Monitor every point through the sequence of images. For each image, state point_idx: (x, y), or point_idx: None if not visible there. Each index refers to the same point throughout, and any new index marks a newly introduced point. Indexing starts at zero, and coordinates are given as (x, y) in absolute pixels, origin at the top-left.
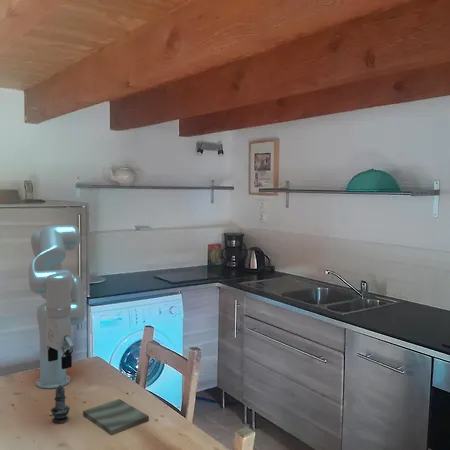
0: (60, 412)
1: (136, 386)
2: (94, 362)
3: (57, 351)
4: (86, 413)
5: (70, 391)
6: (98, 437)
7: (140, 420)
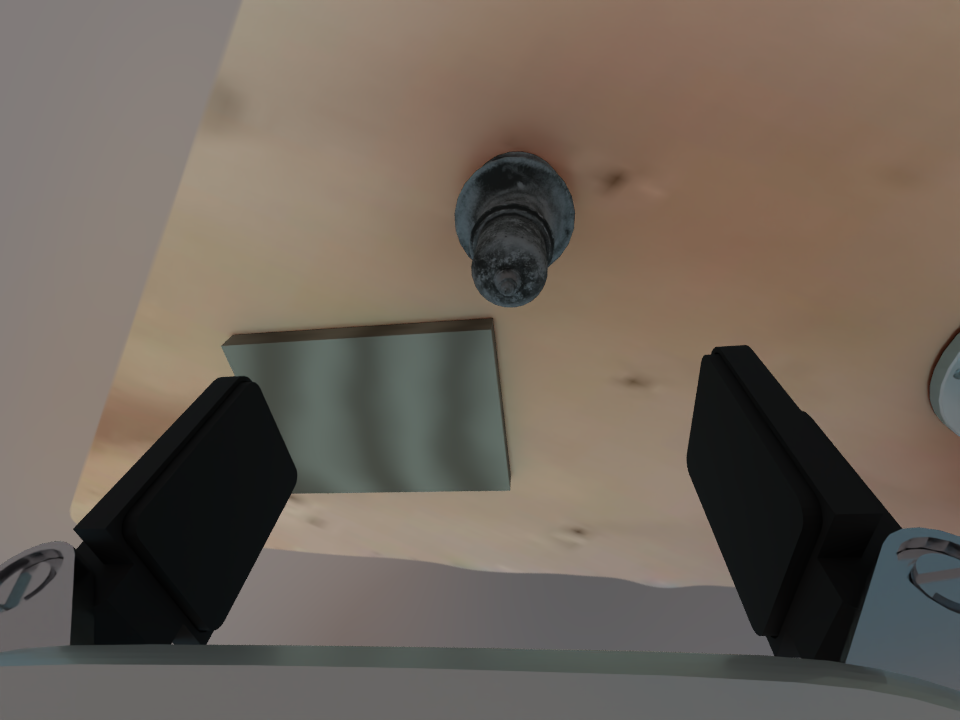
0: (463, 204)
1: (611, 573)
2: None
3: (733, 580)
4: (452, 331)
5: (823, 379)
6: (232, 283)
7: None
